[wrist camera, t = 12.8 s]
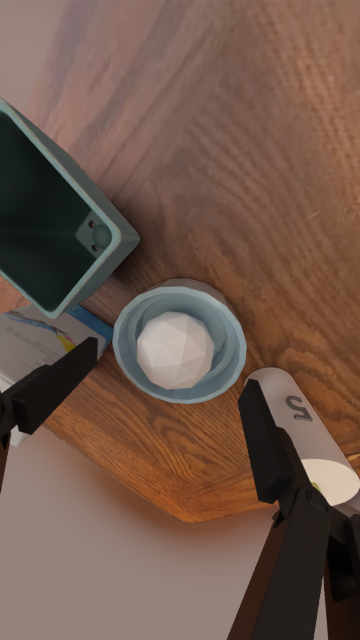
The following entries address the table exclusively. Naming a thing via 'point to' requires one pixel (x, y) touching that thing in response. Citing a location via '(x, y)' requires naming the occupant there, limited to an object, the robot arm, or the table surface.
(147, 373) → the geometric ball
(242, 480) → the table surface
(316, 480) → the candle
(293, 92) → the table surface
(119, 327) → the bowl
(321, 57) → the table surface
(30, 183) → the flower pot
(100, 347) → the ink box
